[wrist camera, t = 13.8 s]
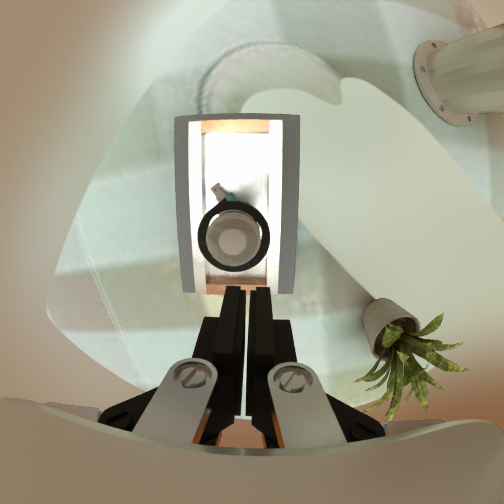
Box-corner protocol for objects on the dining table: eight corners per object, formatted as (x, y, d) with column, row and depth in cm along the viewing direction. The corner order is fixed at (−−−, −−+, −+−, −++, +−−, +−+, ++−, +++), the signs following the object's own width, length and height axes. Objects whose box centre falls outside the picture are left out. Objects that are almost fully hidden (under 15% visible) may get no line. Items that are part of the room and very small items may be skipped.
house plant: (301, 323, 34) (326, 424, 19) (374, 243, 31) (454, 311, 15) (364, 364, 37) (400, 446, 22) (427, 301, 34) (490, 367, 18)
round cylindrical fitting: (195, 200, 28) (167, 221, 18) (235, 167, 27) (225, 172, 17) (235, 248, 29) (227, 291, 20) (275, 218, 28) (286, 248, 19)
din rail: (280, 123, 25) (282, 120, 23) (276, 286, 31) (277, 294, 29) (193, 124, 25) (188, 121, 23) (199, 285, 31) (195, 293, 29)
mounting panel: (298, 116, 26) (299, 115, 25) (291, 288, 33) (292, 293, 32) (177, 118, 26) (174, 116, 25) (185, 287, 33) (183, 292, 32)
